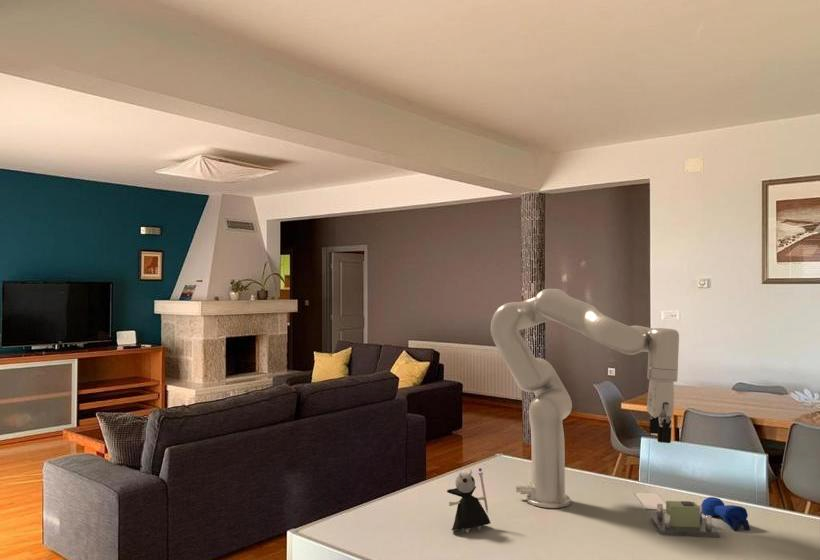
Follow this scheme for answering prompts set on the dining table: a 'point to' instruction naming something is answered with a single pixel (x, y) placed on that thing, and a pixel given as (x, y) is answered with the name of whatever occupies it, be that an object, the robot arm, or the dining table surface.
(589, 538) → the dining table surface
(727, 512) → the toy
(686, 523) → the block
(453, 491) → the toy
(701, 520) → the chassis
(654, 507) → the smartphone
